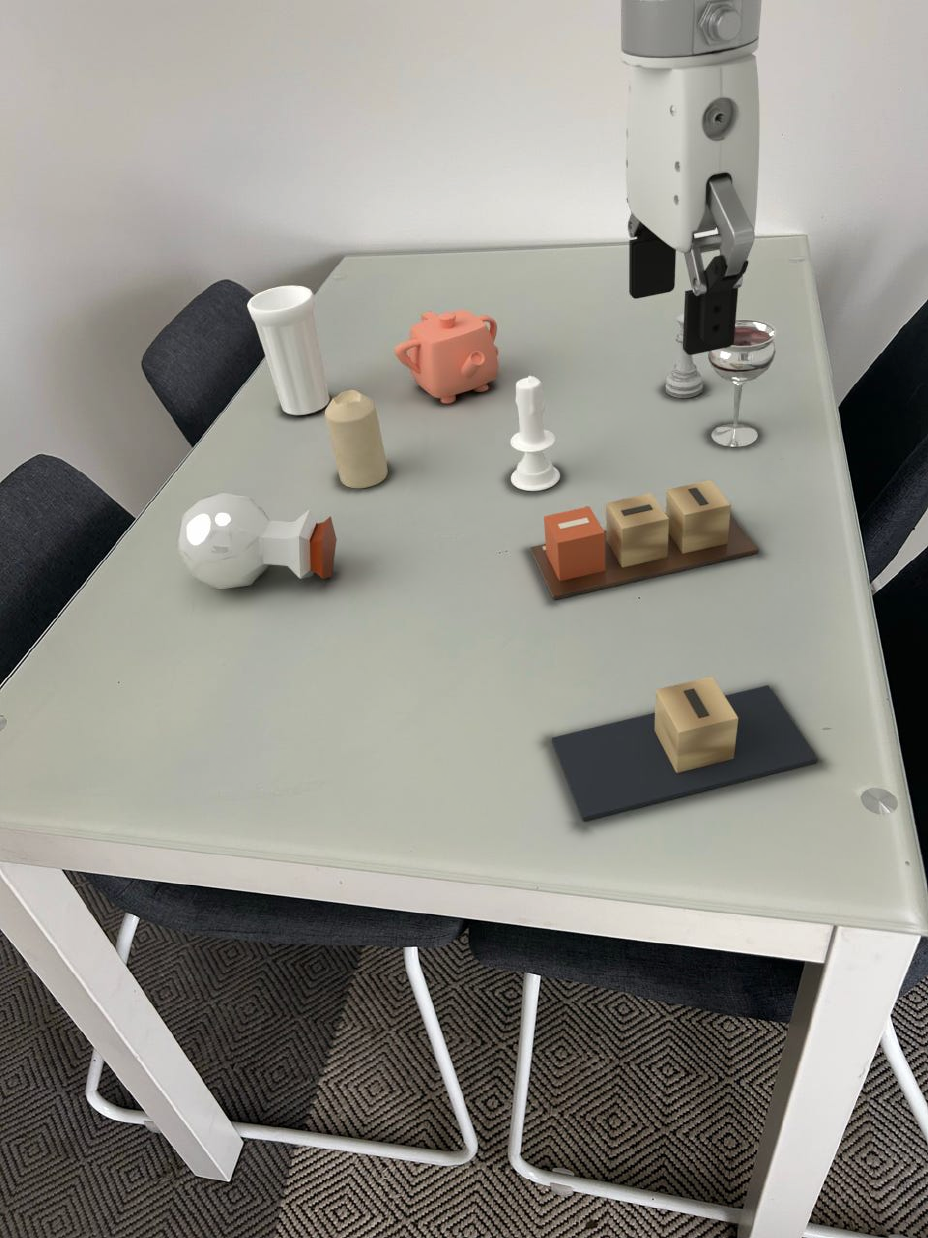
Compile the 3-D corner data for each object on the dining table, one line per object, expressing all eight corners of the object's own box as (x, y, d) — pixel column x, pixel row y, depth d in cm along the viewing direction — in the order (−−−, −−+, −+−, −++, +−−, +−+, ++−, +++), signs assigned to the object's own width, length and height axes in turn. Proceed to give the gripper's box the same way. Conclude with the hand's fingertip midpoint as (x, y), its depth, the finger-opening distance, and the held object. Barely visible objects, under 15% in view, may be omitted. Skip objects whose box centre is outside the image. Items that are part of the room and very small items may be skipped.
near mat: (767, 689, 75) (768, 684, 74) (817, 762, 69) (818, 758, 68) (551, 741, 73) (551, 737, 73) (583, 821, 67) (582, 817, 67)
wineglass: (763, 453, 101) (774, 348, 93) (699, 448, 103) (705, 345, 95) (768, 421, 105) (780, 319, 97) (707, 418, 107) (713, 317, 100)
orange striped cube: (590, 544, 91) (589, 505, 88) (605, 571, 88) (604, 531, 85) (546, 554, 91) (543, 515, 88) (559, 581, 87) (557, 542, 84)
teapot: (486, 413, 114) (478, 338, 108) (398, 405, 118) (385, 333, 112) (516, 369, 122) (510, 297, 116) (432, 363, 126) (422, 293, 120)
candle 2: (522, 462, 105) (514, 362, 97) (567, 468, 103) (562, 367, 95) (503, 487, 101) (493, 386, 93) (549, 495, 99) (542, 392, 91)
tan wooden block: (708, 518, 92) (711, 478, 89) (727, 543, 89) (731, 503, 86) (664, 527, 92) (666, 488, 89) (682, 554, 88) (684, 513, 85)
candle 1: (386, 486, 104) (370, 405, 98) (337, 491, 104) (318, 411, 98) (390, 460, 108) (374, 381, 102) (343, 464, 109) (325, 386, 102)
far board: (722, 508, 94) (722, 503, 94) (757, 553, 88) (758, 548, 87) (530, 551, 92) (530, 546, 92) (553, 600, 86) (553, 595, 86)
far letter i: (650, 531, 92) (651, 491, 89) (667, 557, 88) (669, 517, 85) (606, 541, 91) (605, 501, 88) (622, 567, 88) (621, 527, 85)
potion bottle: (195, 581, 97) (337, 592, 96) (156, 587, 87) (313, 600, 86) (199, 491, 96) (342, 502, 95) (160, 487, 86) (319, 499, 85)
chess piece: (708, 394, 111) (713, 313, 105) (673, 401, 111) (676, 321, 105) (694, 378, 115) (698, 299, 108) (660, 385, 114) (662, 306, 108)
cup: (347, 407, 119) (323, 298, 110) (288, 428, 117) (259, 318, 108) (323, 384, 125) (298, 279, 116) (266, 404, 123) (237, 298, 113)
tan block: (709, 716, 73) (712, 674, 70) (734, 759, 69) (738, 717, 66) (654, 730, 72) (655, 688, 69) (676, 773, 69) (678, 731, 66)
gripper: (832, 35, 45) (791, 362, 57) (692, -7, 58) (681, 266, 70) (686, 61, 45) (674, 387, 56) (577, 13, 58) (584, 285, 69)
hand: (678, 319), depth 63 cm, fingers open, 9 cm apart
